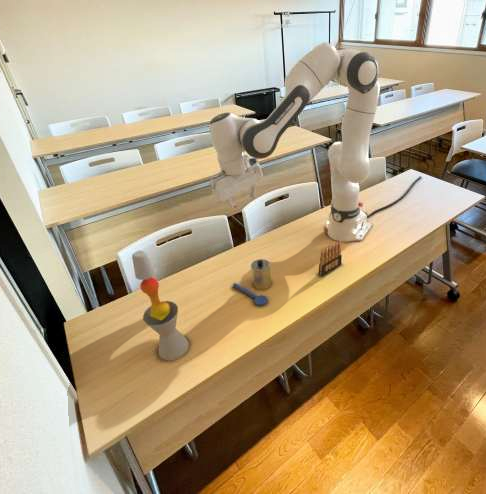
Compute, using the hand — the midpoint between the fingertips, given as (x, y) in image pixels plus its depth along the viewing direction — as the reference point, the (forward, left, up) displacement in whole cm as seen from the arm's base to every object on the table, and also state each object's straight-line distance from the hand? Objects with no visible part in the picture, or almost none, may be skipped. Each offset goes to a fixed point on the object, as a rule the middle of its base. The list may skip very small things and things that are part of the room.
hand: (243, 202), depth 119 cm
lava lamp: (+44, +12, -27) cm, 53 cm away
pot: (+7, +13, -27) cm, 30 cm away
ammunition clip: (-15, +28, -27) cm, 41 cm away
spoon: (+14, +14, -27) cm, 33 cm away
